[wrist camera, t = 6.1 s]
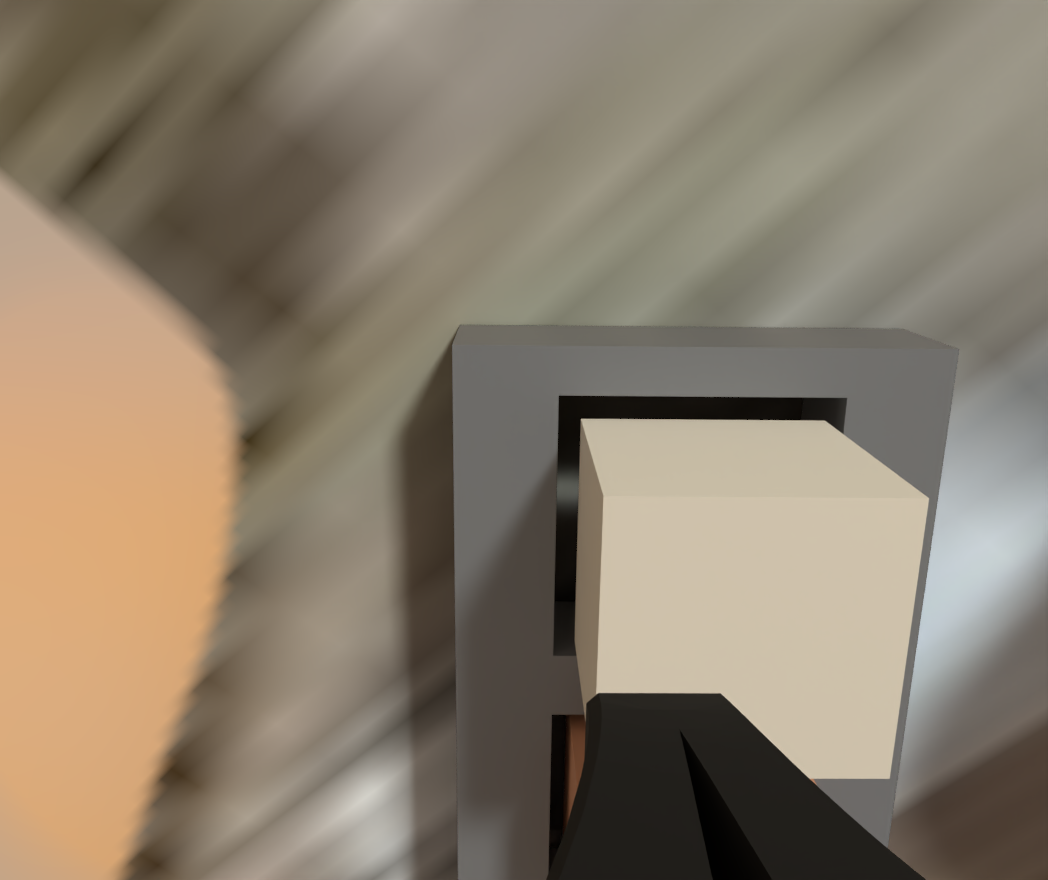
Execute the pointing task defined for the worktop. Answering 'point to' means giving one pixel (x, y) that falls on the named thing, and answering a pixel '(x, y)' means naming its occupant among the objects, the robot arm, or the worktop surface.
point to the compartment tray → (530, 526)
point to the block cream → (751, 578)
